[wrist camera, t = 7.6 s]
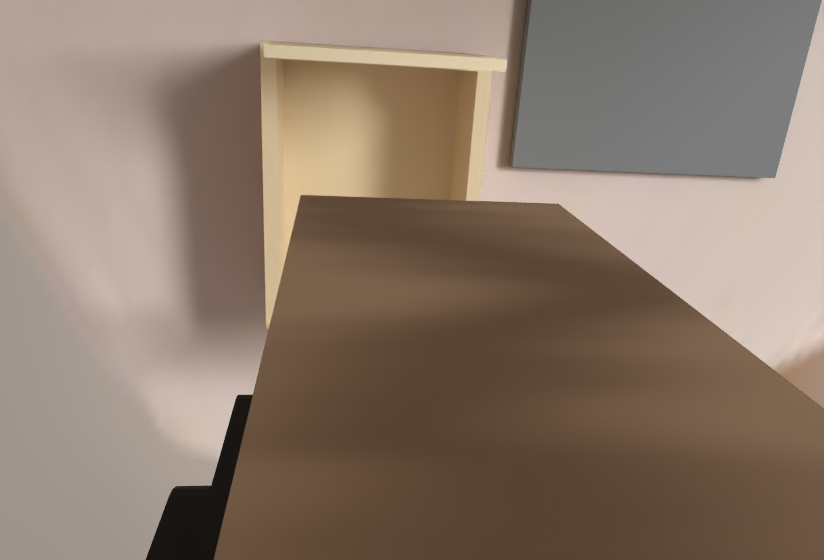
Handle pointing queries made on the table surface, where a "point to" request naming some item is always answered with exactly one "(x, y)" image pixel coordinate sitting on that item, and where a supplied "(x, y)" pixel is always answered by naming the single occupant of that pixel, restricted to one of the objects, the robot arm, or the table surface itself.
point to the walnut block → (508, 402)
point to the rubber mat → (660, 85)
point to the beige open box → (366, 130)
